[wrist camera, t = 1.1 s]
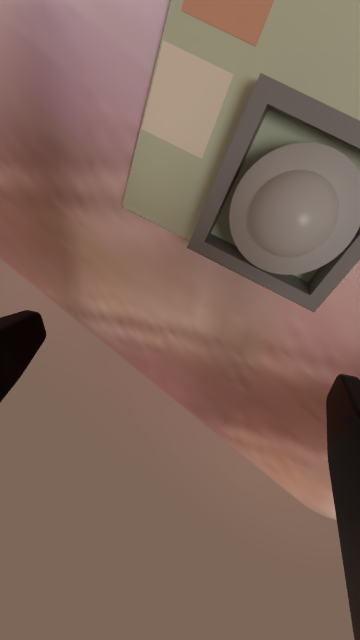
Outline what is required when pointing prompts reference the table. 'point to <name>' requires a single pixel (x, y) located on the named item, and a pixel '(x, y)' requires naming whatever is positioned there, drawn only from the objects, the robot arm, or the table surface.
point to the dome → (296, 208)
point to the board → (245, 118)
